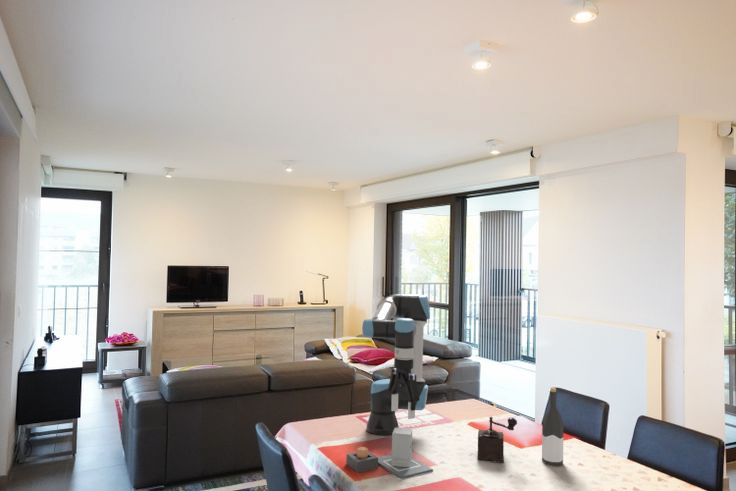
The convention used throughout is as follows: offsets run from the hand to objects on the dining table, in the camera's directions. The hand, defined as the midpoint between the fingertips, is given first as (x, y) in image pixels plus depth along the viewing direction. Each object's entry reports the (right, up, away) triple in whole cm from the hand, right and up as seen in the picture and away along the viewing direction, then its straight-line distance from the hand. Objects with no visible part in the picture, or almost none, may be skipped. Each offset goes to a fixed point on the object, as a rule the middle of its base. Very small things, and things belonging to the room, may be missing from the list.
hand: (402, 414), depth 203 cm
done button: (-16, -17, -2) cm, 23 cm away
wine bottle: (+61, -22, +6) cm, 65 cm away
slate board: (0, -20, 0) cm, 20 cm away
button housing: (-16, -20, -2) cm, 25 cm away
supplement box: (0, -19, 0) cm, 19 cm away
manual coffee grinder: (+39, -21, +9) cm, 46 cm away
